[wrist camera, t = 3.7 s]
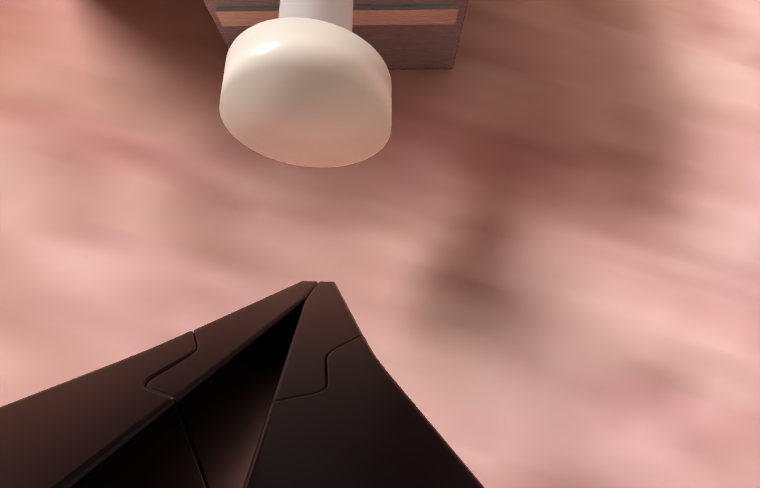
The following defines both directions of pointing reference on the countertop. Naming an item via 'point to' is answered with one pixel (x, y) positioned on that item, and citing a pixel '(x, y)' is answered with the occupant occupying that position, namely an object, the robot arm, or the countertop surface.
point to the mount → (371, 27)
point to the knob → (307, 88)
